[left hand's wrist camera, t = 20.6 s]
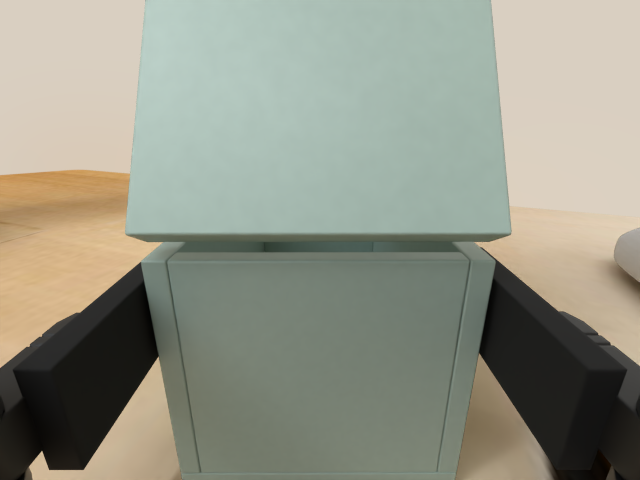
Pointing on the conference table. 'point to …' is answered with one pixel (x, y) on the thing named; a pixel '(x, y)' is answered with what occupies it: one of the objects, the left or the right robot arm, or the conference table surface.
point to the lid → (318, 123)
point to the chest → (318, 356)
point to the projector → (629, 253)
